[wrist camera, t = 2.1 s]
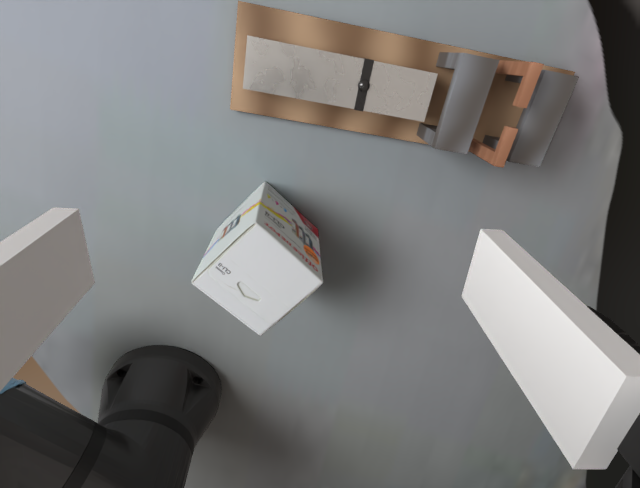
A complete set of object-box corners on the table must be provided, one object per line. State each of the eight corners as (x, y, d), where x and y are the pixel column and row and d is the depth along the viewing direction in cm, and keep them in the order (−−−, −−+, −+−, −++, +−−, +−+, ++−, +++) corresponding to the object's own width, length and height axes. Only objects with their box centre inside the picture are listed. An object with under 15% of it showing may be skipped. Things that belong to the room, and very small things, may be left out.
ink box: (320, 229, 45) (327, 285, 34) (269, 275, 47) (260, 340, 36) (265, 177, 42) (254, 221, 31) (213, 229, 44) (186, 286, 33)
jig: (231, 107, 38) (213, 124, 30) (239, 2, 34) (221, -13, 26) (530, 160, 42) (587, 188, 34) (568, 71, 38) (642, 77, 30)
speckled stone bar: (248, 85, 36) (242, 89, 32) (252, 36, 34) (247, 34, 31) (412, 115, 38) (424, 122, 34) (424, 70, 36) (438, 73, 33)
